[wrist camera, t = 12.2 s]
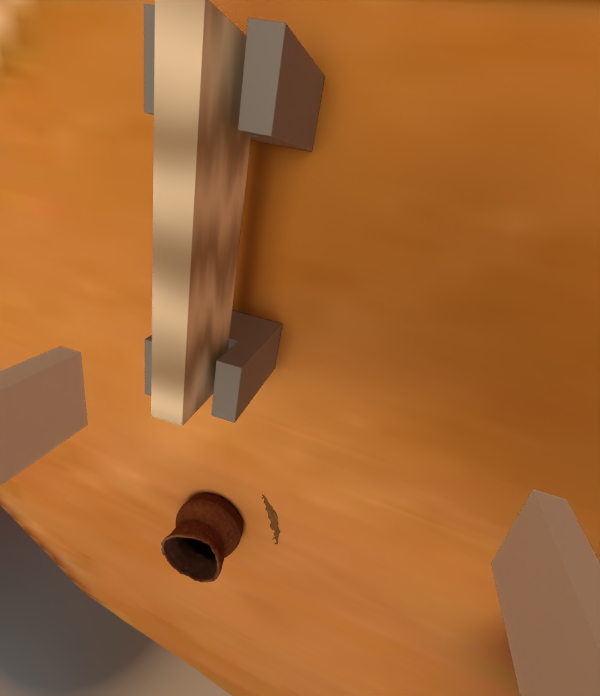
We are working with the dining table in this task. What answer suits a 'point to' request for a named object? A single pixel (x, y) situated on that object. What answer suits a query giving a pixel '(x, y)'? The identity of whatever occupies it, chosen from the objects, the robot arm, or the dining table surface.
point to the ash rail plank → (194, 200)
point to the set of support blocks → (268, 127)
